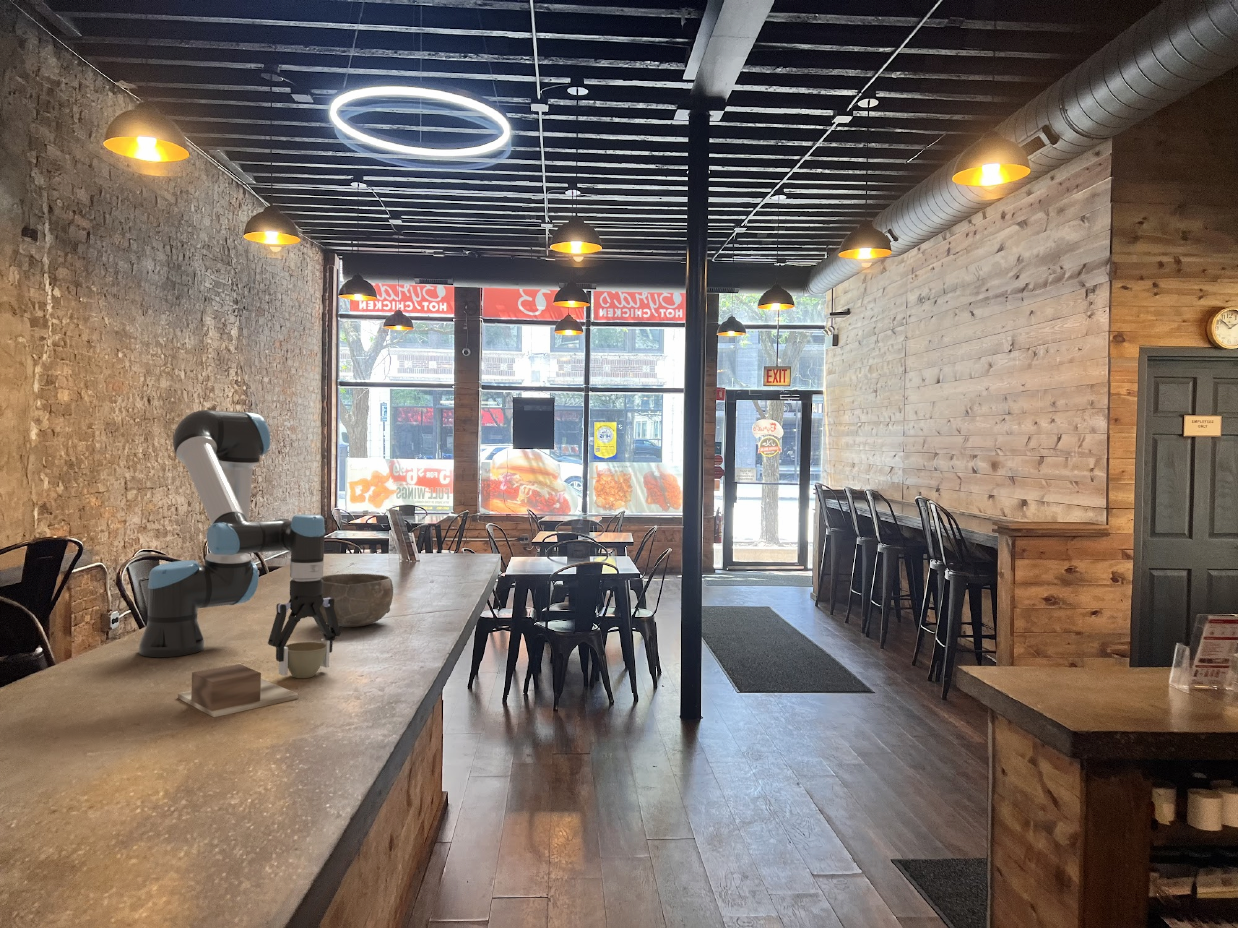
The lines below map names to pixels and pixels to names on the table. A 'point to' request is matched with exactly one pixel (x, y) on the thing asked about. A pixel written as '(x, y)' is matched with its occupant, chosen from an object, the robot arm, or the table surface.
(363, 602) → the bowl
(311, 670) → the flower pot
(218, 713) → the board
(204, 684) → the pedestal
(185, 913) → the table surface
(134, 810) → the table surface
